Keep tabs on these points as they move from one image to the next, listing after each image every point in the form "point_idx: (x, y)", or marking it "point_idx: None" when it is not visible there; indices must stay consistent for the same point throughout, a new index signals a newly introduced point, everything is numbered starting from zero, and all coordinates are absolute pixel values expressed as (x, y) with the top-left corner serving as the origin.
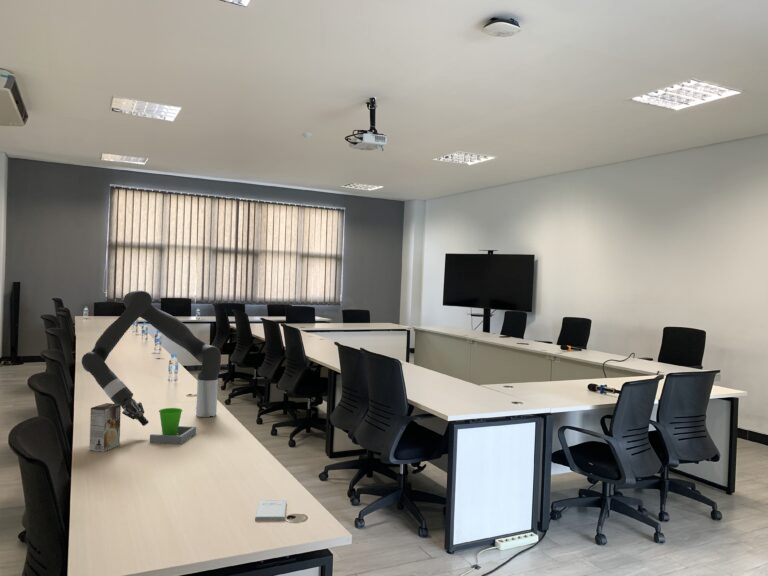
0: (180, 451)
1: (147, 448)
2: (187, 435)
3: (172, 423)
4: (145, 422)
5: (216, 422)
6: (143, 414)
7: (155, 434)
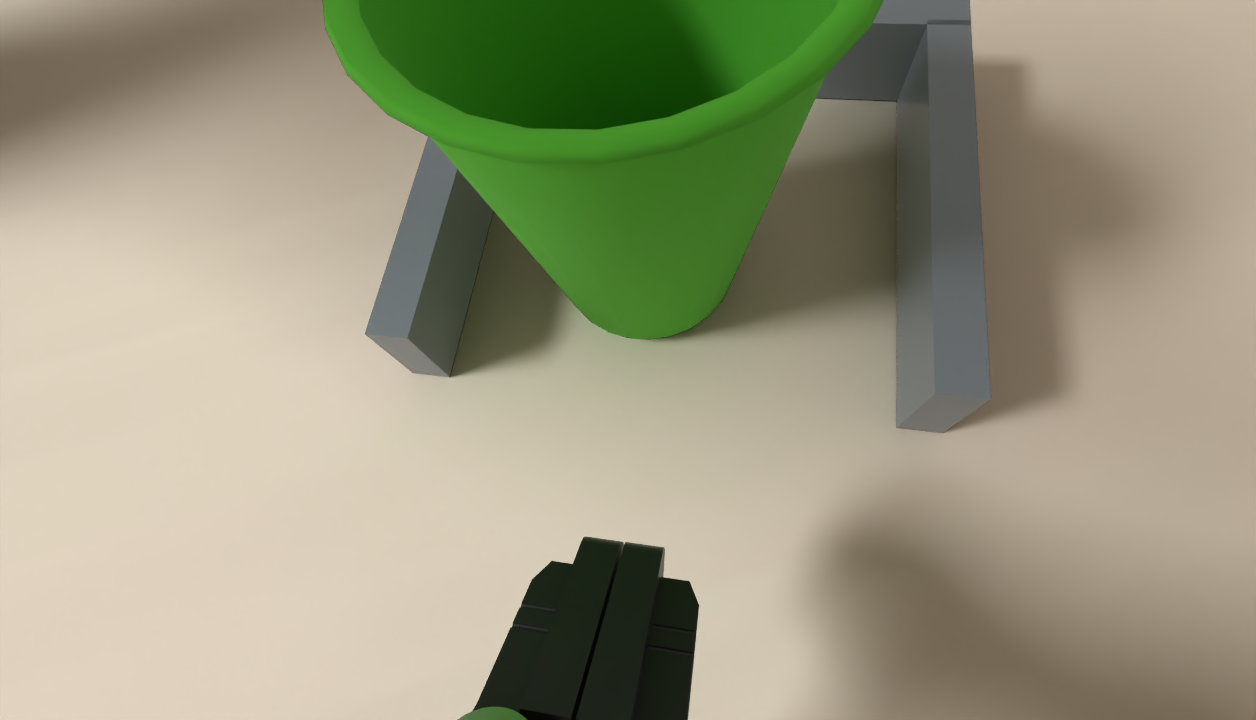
0: (1201, 10)
1: (1235, 372)
2: None
3: (764, 53)
4: (673, 581)
5: (63, 15)
6: (476, 711)
7: (943, 324)
